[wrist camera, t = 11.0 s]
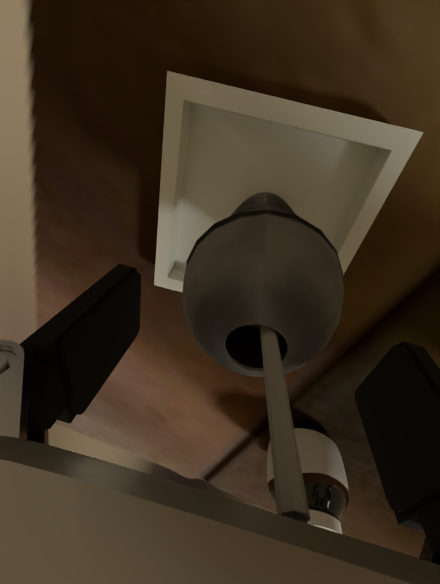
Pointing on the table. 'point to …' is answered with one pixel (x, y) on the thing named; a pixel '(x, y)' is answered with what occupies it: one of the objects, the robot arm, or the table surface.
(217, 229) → the beverage cup
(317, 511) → the spread jar
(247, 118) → the walled tray
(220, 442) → the table surface
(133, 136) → the table surface
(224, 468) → the table surface
